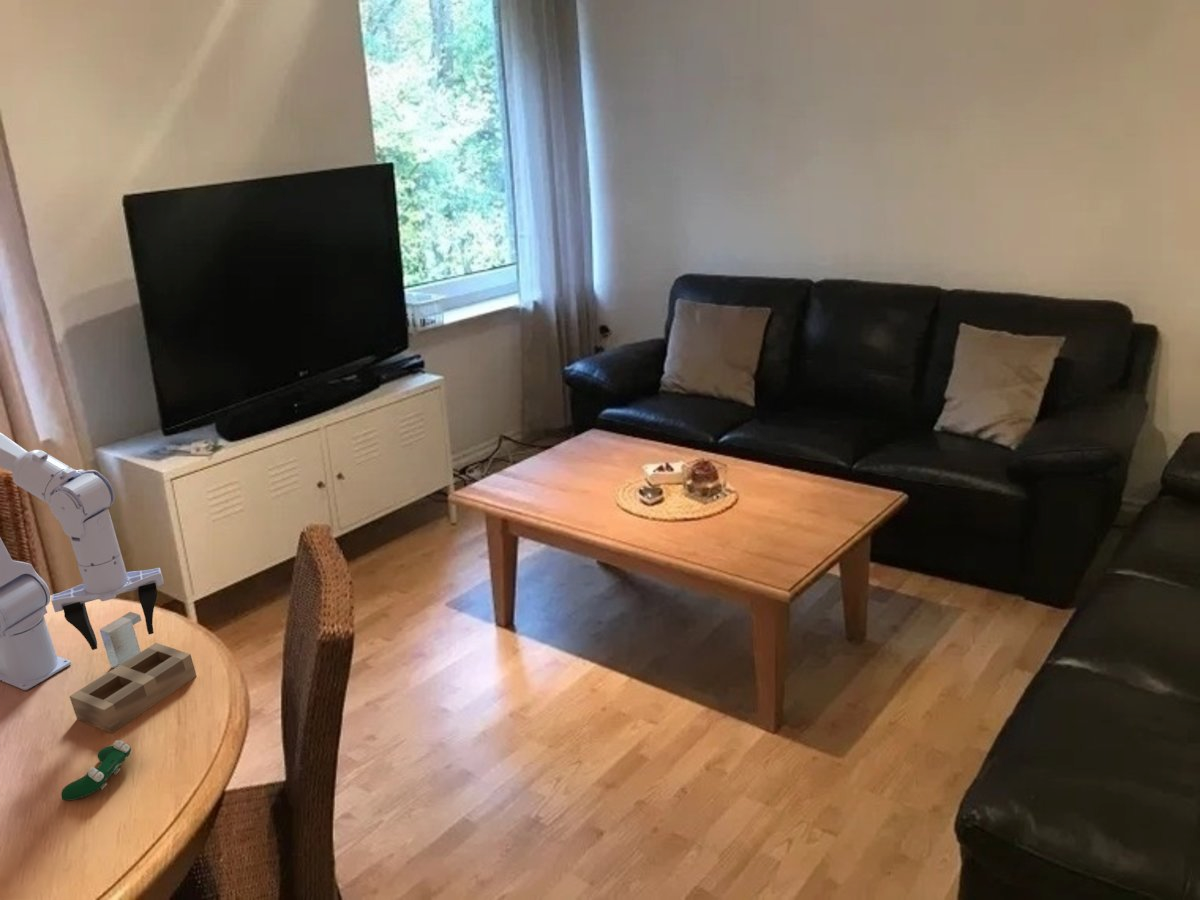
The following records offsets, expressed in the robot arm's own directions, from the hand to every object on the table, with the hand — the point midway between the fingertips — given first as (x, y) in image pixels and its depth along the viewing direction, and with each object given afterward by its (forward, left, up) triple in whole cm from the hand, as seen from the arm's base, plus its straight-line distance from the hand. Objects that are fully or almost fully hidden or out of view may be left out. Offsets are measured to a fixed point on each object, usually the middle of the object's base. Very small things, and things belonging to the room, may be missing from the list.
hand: (122, 638), depth 154 cm
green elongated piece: (+12, -15, -10) cm, 22 cm away
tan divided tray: (0, -1, -10) cm, 10 cm away
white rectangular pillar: (-10, +5, -10) cm, 15 cm away
